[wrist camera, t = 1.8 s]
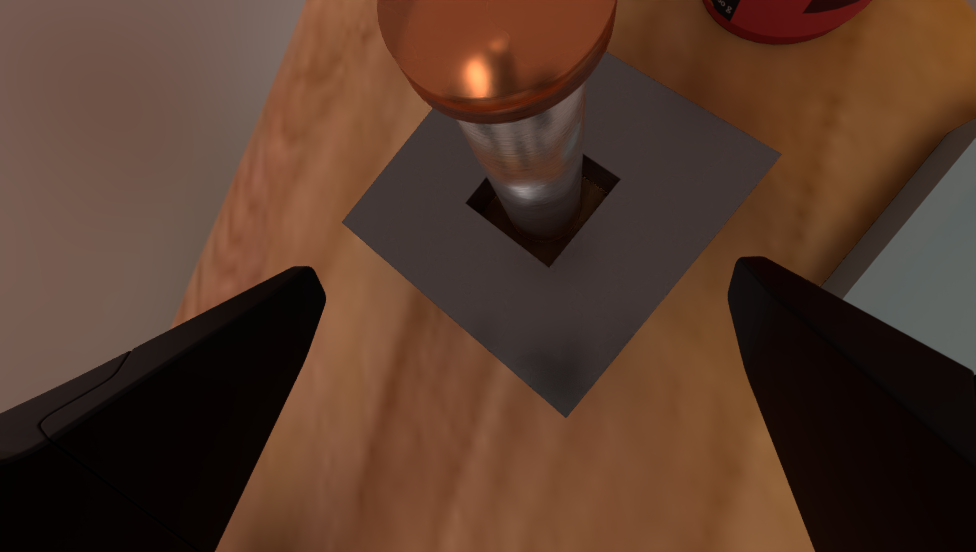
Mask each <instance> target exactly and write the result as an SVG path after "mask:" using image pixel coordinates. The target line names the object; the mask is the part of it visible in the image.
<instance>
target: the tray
mask: <svg viewBox="0 0 976 552" xmlns="http://www.w3.org/2000/svg"><path fill="white" fill-rule="evenodd" d="M821 288H823V289H825V290H826V291H828V292H830V293H832V294H834V295H836V296H837V297H839V298H841V299H843V300H845V301H847V302H848V303H850V304H852V305H854V306H856V307H858V308H859V309H861V310H863V311H865V312H867V313H869V314H870V315H872V316H874V317H876V318H878V319H880V320H881V321H883V322H885V323H887V324H889V325H891V326H892V327H894V328H896V329H898V330H900V331H902V332H903V333H905V334H907V335H909V336H911V337H913V338H914V339H916V340H918V341H920V342H922V343H924V344H925V345H927V346H929V347H931V348H933V349H935V350H936V351H938V352H940V353H942V354H944V355H946V356H947V357H949V358H951V359H953V360H955V361H957V362H958V363H960V364H962V365H964V366H966V367H968V368H969V369H971V370H973V372H974V375H975V374H976V118H974V119H973V120H971V121H969V122H967V123H965V124H964V125H962V126H960V127H958V128H956V129H954V130H953V131H951V132H949V133H948V134H947V135H946V136H945V137H944V138H943V140H942V141H941V142H940V143H939V145H938V146H937V147H936V148H935V149H934V151H933V152H932V153H931V154H930V155H929V157H928V158H927V159H926V160H925V161H924V163H923V164H922V165H921V166H920V168H919V169H918V170H917V171H916V172H915V174H914V175H913V176H912V177H911V178H910V180H909V181H908V182H907V183H906V185H905V186H904V187H903V188H902V189H901V191H900V192H899V193H898V194H897V195H896V197H895V198H894V199H893V200H892V202H891V203H890V204H889V205H888V206H887V208H886V209H885V210H884V211H883V212H882V214H881V215H880V216H879V217H878V218H877V220H876V221H875V222H874V223H873V225H872V226H871V227H870V228H869V229H868V231H867V232H866V233H865V234H864V235H863V237H862V238H861V239H860V240H859V242H858V243H857V244H856V245H855V246H854V248H853V249H852V250H851V251H850V252H849V254H848V255H847V256H846V257H845V259H844V260H843V261H842V262H841V263H840V265H839V266H838V267H837V268H836V269H835V271H834V272H833V273H832V274H831V275H830V277H829V278H828V279H827V280H826V282H825V283H824V284H823V285H822V286H821Z"/></svg>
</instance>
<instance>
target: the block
mask: <svg viewBox="0 0 976 552" xmlns="http://www.w3.org/2000/svg"><path fill="white" fill-rule="evenodd" d="M780 156H781V153H779V152H777V151H775V150H774V149H772V148H770V147H769V146H767V145H765V144H763V143H762V142H760V141H758V140H757V139H755V138H753V137H751V136H750V135H748V134H746V133H745V132H743V131H741V130H739V129H738V128H736V127H734V126H733V125H731V124H729V123H727V122H726V121H724V120H722V119H721V118H719V117H717V116H715V115H714V114H712V113H710V112H709V111H707V110H705V109H703V108H702V107H700V106H698V105H697V104H695V103H693V102H691V101H690V100H688V99H686V98H685V97H683V96H681V95H679V94H678V93H676V92H674V91H673V90H671V89H669V88H667V87H666V86H664V85H662V84H661V83H659V82H657V81H655V80H654V79H652V78H650V77H649V76H647V75H645V74H644V73H642V72H640V71H638V70H637V69H635V68H633V67H632V66H630V65H628V64H626V63H625V62H623V61H621V60H620V59H618V58H616V57H614V56H613V55H611V54H609V53H608V52H606V51H605V53H604V55H603V57H602V58H601V60H600V62H599V64H598V65H597V67H596V68H595V69H594V71H593V72H592V74H591V75H590V76H589V77H588V78H587V79H586V96H585V117H584V138H583V159H582V175H583V176H585V177H586V178H588V179H589V180H590V181H592V182H593V183H595V184H596V185H598V186H599V187H601V188H602V189H604V190H605V191H607V192H608V193H609V194H608V196H607V197H606V198H605V199H604V201H603V202H602V203H601V204H600V206H599V207H598V208H597V209H596V210H595V212H594V213H593V214H592V215H591V217H590V218H589V219H588V220H587V222H586V223H585V224H584V225H583V227H582V228H581V229H580V230H579V231H578V233H577V234H576V235H575V236H574V238H573V239H572V240H571V241H570V243H569V244H568V245H567V246H566V247H565V249H564V250H563V251H562V252H561V254H560V255H559V256H558V257H557V259H556V260H555V261H554V262H553V264H552V265H551V266H550V267H547V266H546V265H545V264H543V263H542V262H541V261H539V260H538V259H537V258H536V257H534V256H533V255H532V254H530V253H529V252H528V251H527V250H525V249H524V248H523V247H521V246H520V245H519V244H517V243H516V242H515V241H514V240H512V239H511V238H510V237H508V236H507V235H506V234H504V233H503V232H502V231H501V230H499V229H498V228H497V227H495V226H494V225H493V224H492V223H490V222H489V221H488V220H486V219H485V218H484V217H482V216H481V215H480V214H481V213H482V211H483V210H484V209H485V208H486V206H487V205H488V204H489V203H490V201H491V200H492V199H493V198H494V196H495V195H496V192H495V191H494V189H493V187H492V185H491V183H490V181H489V180H488V178H487V176H486V174H485V172H484V170H483V168H482V167H481V165H480V163H479V161H478V159H477V157H476V156H475V154H474V152H473V150H472V148H471V146H470V145H469V143H468V141H467V139H466V137H465V135H464V133H463V132H462V130H461V128H460V126H459V124H458V122H457V121H456V119H454V118H452V117H449V116H447V115H445V114H442V113H441V112H439V111H438V110H436V109H434V108H433V109H432V110H431V111H430V112H429V114H428V115H427V116H426V117H425V119H424V120H423V121H422V122H421V124H420V125H419V126H418V127H417V129H416V130H415V131H414V132H413V134H412V135H411V136H410V137H409V139H408V140H407V141H406V142H405V144H404V145H403V146H402V147H401V149H400V150H399V151H398V152H397V154H396V155H395V156H394V157H393V159H392V160H391V161H390V162H389V164H388V165H387V166H386V167H385V169H384V170H383V171H382V172H381V174H380V175H379V176H378V177H377V179H376V180H375V181H374V182H373V184H372V185H371V186H370V187H369V189H368V190H367V191H366V193H365V194H364V195H363V196H362V198H361V199H360V200H359V201H358V203H357V204H356V205H355V206H354V208H353V209H352V210H351V211H350V213H349V214H348V215H347V216H346V218H345V219H344V220H343V221H342V223H343V224H344V225H345V226H347V227H348V228H349V229H350V230H351V231H352V232H353V233H355V234H356V235H357V236H358V237H359V238H360V239H361V240H363V241H364V242H365V243H366V244H367V245H368V246H369V247H371V248H372V249H373V250H374V251H375V252H376V253H378V254H379V255H380V256H381V257H382V258H383V259H384V260H386V261H387V262H388V263H389V264H390V265H391V266H392V267H394V268H395V269H396V270H397V271H398V272H399V273H400V274H402V275H403V276H404V277H405V278H406V279H407V280H408V281H410V282H411V283H412V284H413V285H414V286H415V287H416V288H418V289H419V290H420V291H421V292H422V293H423V294H424V295H426V296H427V297H428V298H429V299H430V300H431V301H432V302H434V303H435V304H436V305H437V306H438V307H439V308H440V309H442V310H443V311H444V312H445V313H446V314H447V315H449V316H450V317H451V318H452V319H453V320H454V321H455V322H457V323H458V324H459V325H460V326H461V327H462V328H463V329H465V330H466V331H467V332H468V333H469V334H470V335H471V336H473V337H474V338H475V339H476V340H477V341H478V342H479V343H481V344H482V345H483V346H484V347H485V348H486V349H487V350H489V351H490V352H491V353H492V354H493V355H494V356H495V357H497V358H498V359H499V360H500V361H501V362H502V363H503V364H505V365H506V366H507V367H508V368H509V369H510V370H512V371H513V372H514V373H515V374H516V375H517V376H518V377H520V378H521V379H522V380H523V381H524V382H525V383H526V384H528V385H529V386H530V387H531V388H532V389H533V390H534V391H536V392H537V393H538V394H539V395H540V396H541V397H542V398H544V399H545V400H546V401H547V402H548V403H549V404H550V405H552V406H553V407H554V408H555V409H556V410H557V411H558V412H560V413H561V414H562V415H563V416H564V417H565V418H566V417H567V416H568V415H569V414H570V413H571V411H572V410H573V409H574V408H575V406H576V405H577V404H578V403H579V402H580V400H581V399H582V398H583V397H584V395H585V394H586V393H587V392H588V391H589V389H590V388H591V387H592V386H593V384H594V383H595V382H596V381H597V380H598V378H599V377H600V376H601V375H602V373H603V372H604V371H605V370H606V369H607V367H608V366H609V365H610V364H611V362H612V361H613V360H614V359H615V358H616V356H617V355H618V354H619V353H620V351H621V350H622V349H623V348H624V346H625V345H626V344H627V343H628V342H629V340H630V339H631V338H632V337H633V335H634V334H635V333H636V332H637V331H638V329H639V328H640V327H641V326H642V324H643V323H644V322H645V321H646V320H647V318H648V317H649V316H650V315H651V313H652V312H653V311H654V310H655V309H656V307H657V306H658V305H659V304H660V302H661V301H662V300H663V299H664V298H665V296H666V295H667V294H668V293H669V291H670V290H671V289H672V288H673V287H674V285H675V284H676V283H677V282H678V280H679V279H680V278H681V277H682V276H683V274H684V273H685V272H686V271H687V269H688V268H689V267H690V266H691V265H692V263H693V262H694V261H695V260H696V258H697V257H698V256H699V255H700V254H701V252H702V251H703V250H704V249H705V247H706V246H707V245H708V244H709V243H710V241H711V240H712V239H713V238H714V236H715V235H716V234H717V233H718V232H719V230H720V229H721V228H722V227H723V225H724V224H725V223H726V222H727V221H728V219H729V218H730V217H731V216H732V214H733V213H734V212H735V211H736V209H737V208H738V207H739V206H740V205H741V203H742V202H743V201H744V200H745V198H746V197H747V196H748V195H749V194H750V192H751V191H752V190H753V189H754V187H755V186H756V185H757V184H758V183H759V181H760V180H761V179H762V178H763V176H764V175H765V174H766V173H767V172H768V170H769V169H770V168H771V167H772V165H773V164H774V163H775V162H776V161H777V159H778V158H779V157H780Z"/></svg>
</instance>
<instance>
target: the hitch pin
mask: <svg viewBox="0 0 976 552" xmlns="http://www.w3.org/2000/svg"><path fill="white" fill-rule="evenodd" d="M616 6H617V0H377V12H378V21H379V26H380V30H381V33H382V37H383V39H384V41H385V44H386V46H387V48H388V50H389V51H390V53H391V54H392V56H393V58H394V59H395V61H396V62H397V64H398V65H399V67H400V68H401V70H402V72H403V73H404V75H405V76H406V78H407V79H408V81H409V82H410V84H411V85H412V87H413V89H414V90H415V91H416V92H417V94H418V95H419V96H420V97H421V98H422V99H423V100H424V101H425V102H426V103H428V104H429V105H430V106H431V107H433V108H434V109H436V110H438V111H439V112H441V113H442V114H445V115H447V116H449V117H452V118H454V119H456V121H457V122H458V124H459V126H460V128H461V130H462V132H463V133H464V135H465V137H466V139H467V141H468V143H469V145H470V146H471V148H472V150H473V152H474V154H475V156H476V157H477V159H478V161H479V163H480V165H481V167H482V168H483V170H484V172H485V174H486V176H487V178H488V180H489V181H490V183H491V185H492V187H493V189H494V191H495V192H496V194H497V196H498V198H499V200H500V202H501V204H502V205H503V207H504V209H505V211H506V213H507V215H508V216H509V218H510V220H511V222H512V224H513V226H514V227H515V229H516V230H517V231H518V232H519V233H520V234H521V235H522V236H524V237H525V238H527V239H529V240H531V241H535V242H542V243H545V242H552V241H555V240H558V239H560V238H562V237H564V236H565V235H566V234H568V233H569V232H570V231H571V230H572V229H573V227H574V226H575V224H576V222H577V220H578V217H579V213H580V201H581V180H582V159H583V138H584V117H585V96H586V79H587V78H588V77H589V76H590V75H591V74H592V72H593V71H594V69H595V68H596V67H597V65H598V64H599V62H600V60H601V58H602V57H603V55H604V53H605V51H606V49H607V46H608V43H609V41H610V38H611V35H612V31H613V26H614V22H615V14H616Z"/></svg>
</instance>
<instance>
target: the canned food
mask: <svg viewBox="0 0 976 552" xmlns="http://www.w3.org/2000/svg"><path fill="white" fill-rule="evenodd" d="M870 1H871V0H703V2H704V4H705V6H706V8H707V10H708V12H709V13H710V14H711V15H712V17H713V18H714V19H715V20H716V21H717V22H718V23H719V24H720V25H721V26H723V27H724V28H725V29H727V30H728V31H730V32H732V33H734V34H735V35H737V36H739V37H741V38H745V39H748V40H751V41H754V42H759V43H766V44H793V43H798V42H804V41H808V40H811V39H814V38H817V37H819V36H822V35H824V34H826V33H828V32H830V31H831V30H833V29H835V28H837V27H839V26H840V25H842V24H843V23H845V22H846V21H848V20H850V19H851V18H853V17H854V16H855V15H856V14H858V13H859V12H860V11H861V10H862V9H864V8H865V7H866V6H867V5H868V4H869V3H870Z"/></svg>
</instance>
